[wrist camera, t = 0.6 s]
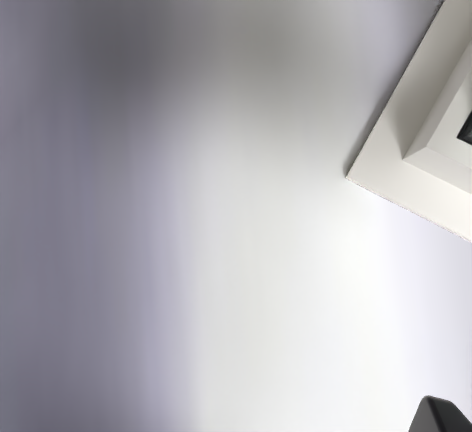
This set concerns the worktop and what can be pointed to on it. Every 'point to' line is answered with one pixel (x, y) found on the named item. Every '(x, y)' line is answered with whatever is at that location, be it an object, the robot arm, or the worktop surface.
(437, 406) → the robot arm
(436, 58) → the stand
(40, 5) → the worktop surface
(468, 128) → the column
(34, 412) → the worktop surface
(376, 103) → the worktop surface
